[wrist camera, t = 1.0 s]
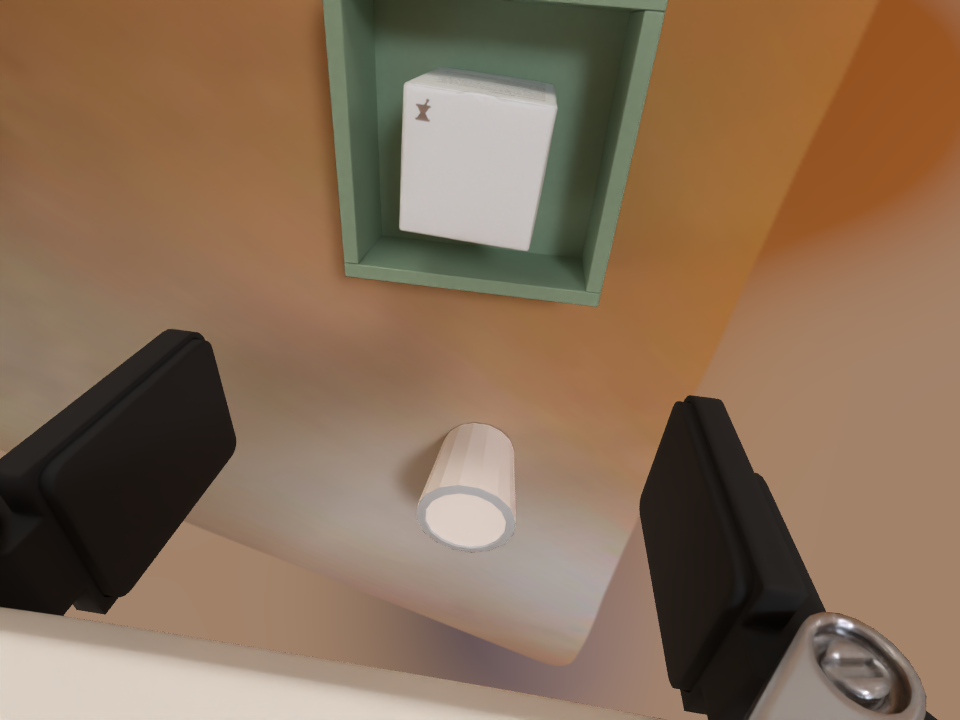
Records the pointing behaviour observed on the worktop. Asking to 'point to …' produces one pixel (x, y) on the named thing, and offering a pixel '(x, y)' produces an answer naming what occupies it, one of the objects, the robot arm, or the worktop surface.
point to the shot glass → (471, 490)
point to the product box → (474, 156)
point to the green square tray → (507, 52)
